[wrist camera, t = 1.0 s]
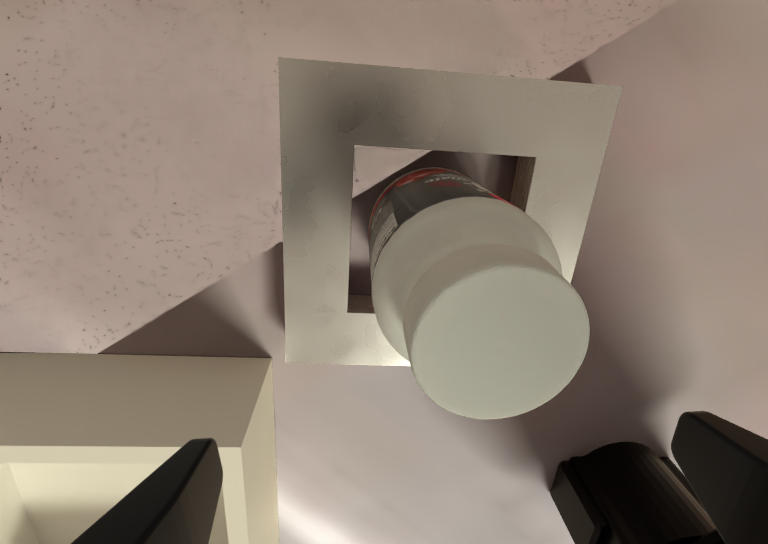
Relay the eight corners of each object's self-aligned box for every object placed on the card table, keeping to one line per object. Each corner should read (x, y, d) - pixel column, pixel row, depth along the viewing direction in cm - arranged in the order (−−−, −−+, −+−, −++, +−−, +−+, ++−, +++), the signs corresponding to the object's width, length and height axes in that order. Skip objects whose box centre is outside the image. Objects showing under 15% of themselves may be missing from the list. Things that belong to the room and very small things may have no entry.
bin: (271, 358, 20) (241, 447, 14) (279, 549, 25) (258, 665, 20) (-38, 350, 19) (-191, 444, 13) (38, 552, 24) (-51, 676, 19)
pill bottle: (502, 174, 17) (666, 249, 8) (473, 289, 19) (578, 454, 10) (376, 155, 16) (397, 214, 7) (359, 276, 18) (360, 439, 9)
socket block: (595, 88, 16) (623, 86, 14) (532, 347, 20) (547, 369, 19) (287, 63, 15) (278, 57, 13) (292, 341, 19) (285, 363, 18)
